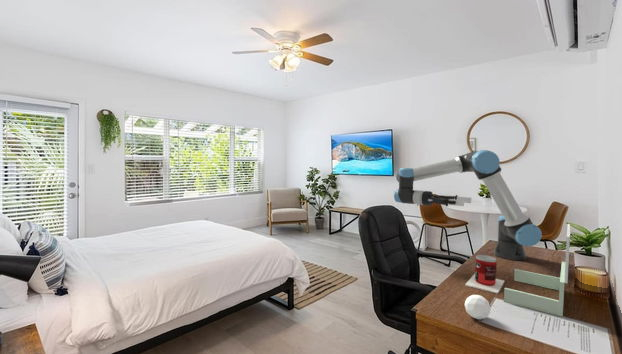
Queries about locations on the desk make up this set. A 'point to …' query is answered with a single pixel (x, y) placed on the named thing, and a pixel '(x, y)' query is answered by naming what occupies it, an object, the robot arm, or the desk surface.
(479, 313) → the ball
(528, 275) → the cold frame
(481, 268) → the canned food
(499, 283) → the tile pad
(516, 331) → the desk surface
